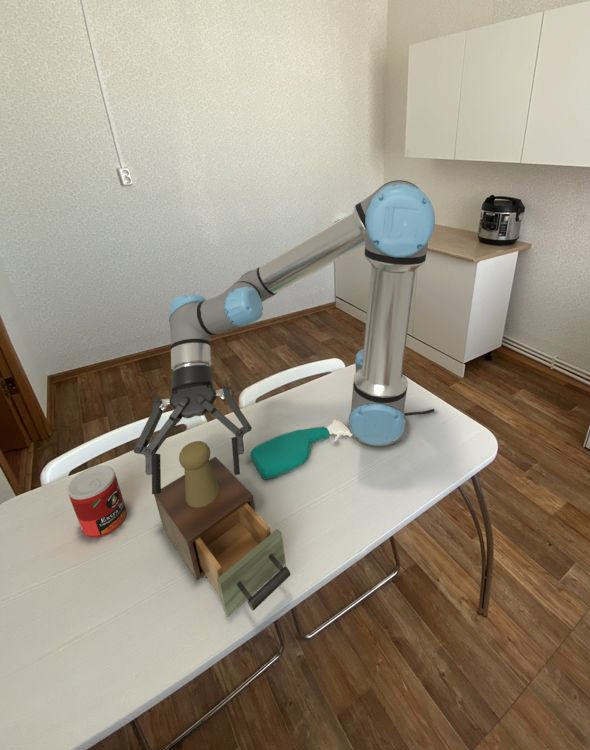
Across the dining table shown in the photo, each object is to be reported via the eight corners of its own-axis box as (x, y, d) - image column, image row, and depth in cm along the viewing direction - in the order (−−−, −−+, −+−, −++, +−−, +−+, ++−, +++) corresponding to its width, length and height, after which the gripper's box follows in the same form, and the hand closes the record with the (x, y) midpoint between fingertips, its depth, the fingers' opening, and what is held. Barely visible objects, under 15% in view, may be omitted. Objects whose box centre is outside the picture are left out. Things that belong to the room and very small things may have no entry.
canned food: (106, 542, 74) (92, 500, 70) (72, 535, 75) (55, 493, 71) (136, 508, 81) (124, 468, 77) (104, 502, 82) (90, 462, 78)
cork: (226, 487, 74) (218, 441, 70) (202, 512, 69) (192, 464, 65) (203, 476, 76) (194, 432, 72) (178, 500, 71) (167, 453, 67)
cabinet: (258, 531, 75) (253, 494, 72) (196, 581, 67) (187, 542, 63) (221, 490, 85) (215, 456, 81) (163, 529, 76) (153, 493, 73)
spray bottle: (248, 456, 94) (334, 419, 107) (264, 485, 86) (356, 442, 99) (247, 446, 93) (334, 410, 106) (263, 475, 85) (355, 432, 98)
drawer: (303, 583, 65) (300, 551, 63) (244, 642, 57) (237, 609, 55) (245, 518, 77) (240, 489, 74) (189, 560, 69) (181, 529, 67)
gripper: (256, 363, 84) (269, 467, 75) (129, 384, 77) (127, 501, 69) (254, 353, 77) (268, 466, 69) (115, 375, 70) (111, 503, 62)
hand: (198, 484), depth 69 cm, fingers open, 13 cm apart
